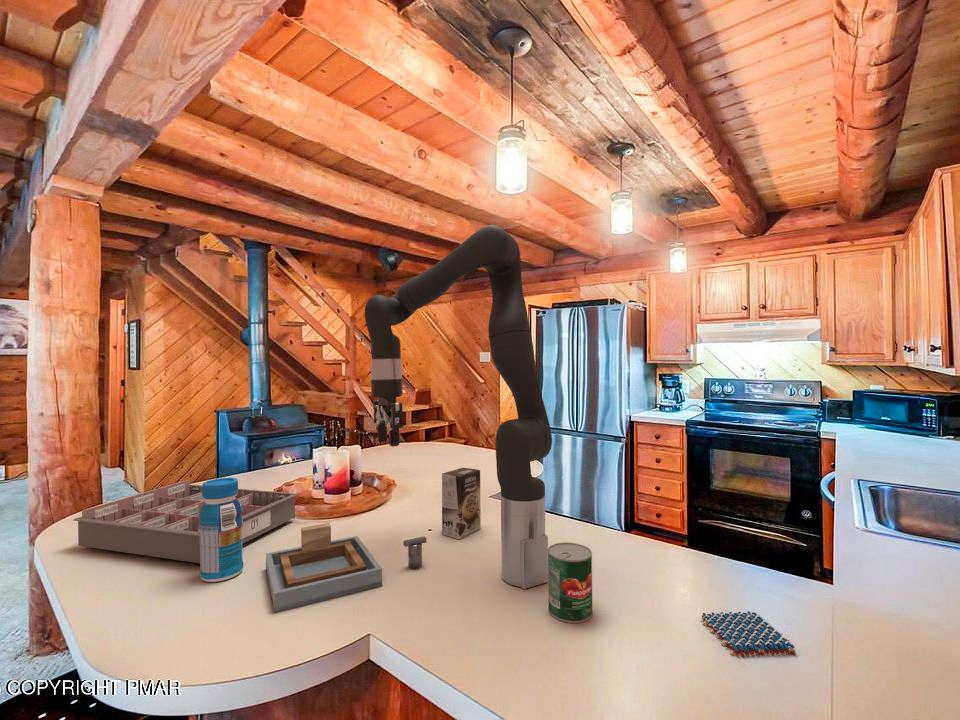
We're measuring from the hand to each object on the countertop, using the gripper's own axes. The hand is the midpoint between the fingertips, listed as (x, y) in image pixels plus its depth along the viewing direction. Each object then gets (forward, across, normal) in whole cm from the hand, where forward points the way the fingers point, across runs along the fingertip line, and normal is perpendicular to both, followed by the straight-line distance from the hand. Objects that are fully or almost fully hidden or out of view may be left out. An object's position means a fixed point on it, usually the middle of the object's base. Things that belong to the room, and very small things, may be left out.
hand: (388, 443), depth 114 cm
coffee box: (+26, -1, -19) cm, 32 cm away
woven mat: (+28, -66, -37) cm, 80 cm away
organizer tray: (+25, +35, +41) cm, 59 cm away
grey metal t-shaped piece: (+26, -13, -1) cm, 29 cm away
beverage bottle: (+25, +5, +36) cm, 44 cm away
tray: (+25, -8, +18) cm, 32 cm away
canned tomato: (+26, -45, -18) cm, 55 cm away
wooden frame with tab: (+24, -7, +18) cm, 31 cm away
